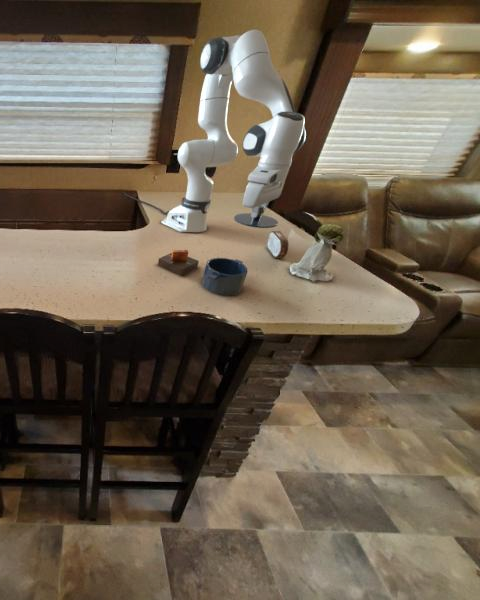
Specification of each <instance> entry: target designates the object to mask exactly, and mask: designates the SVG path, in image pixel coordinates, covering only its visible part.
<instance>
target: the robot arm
mask: <svg viewBox="0 0 480 600" xmlns="http://www.w3.org/2000/svg"><path fill="white" fill-rule="evenodd" d="M269 47H270V46H269V45H268V42H267V39H266V37H265V35H264V33H263V32H262V31H261V30H259V29H250V30H248V31H245V32H244V33H243V34H242V35H238V34H237V35H232V36H223V37H222V36H216V37H212V38H211V39H209V40H208V41H207V42H205V44H204V46H203V48H202V50H201V53H200V59H199V66H200V70H201V72H202V73H204V74H205V77H204V79H203V84H202V88H201V92H200V98H199V105H198V106H199V107H198V115H197V124H198V126H199V127H200V128H201V129H202V130H203V131H205V133H206V134H207V138H206V139H203V138H202V139H192V140H188V141H185V142H183V143H182V144H181V145H180V146H179V148H178V151H177V161H178V163H179V165H180V166H181V167H182V168H183V169H184V171H185V173H186V177H187V187H186V193H185V196H184V197H182V198H180V200H179V202H180V204H179V205H177V206H176V207H174V208H171V209H169V210H168V211H167V212H164V211H163V210H162V209H161V208H159V207H157V206H155V205H153V204H151V203H148V202H145V201H143V200H141V199H138V198H136V197H133V196H132V195H129V194H128V193H127V192H125V193H124V192H122V194H123V195H124V196H126V197H128V198H131V199H132V200H135V201H138V202H140V203H142V204H144V205H147V206H150V207H152V208H154V209H156V210H158V211H159V212H160V213H162V214H163V215H166V217H165V218H163V219H162V220H161V224H163V225H165V226H166V227H168V228H171V229H173V230H175V231H177V232H180V233H202V232H205V231H207V229H208V227H207V224H208V223H207V221H208V212H209V210H210V207H211V201H212V199H211V198H212V193H213V190H214V189H213V188H214V180H213V179H212V177H210V176H209V175H207V174H206V169H207V168H220V167H224V166H228V165H231V164H232V163H233V162H234V161H235V160H236V158H237V155H238V153H239V152H238V151H239V148H238V143H237V142H236V141H235V140H234V139H233V138H232V136H231V134H230V132H229V129H228V112H229V111H228V110H229V101H230V96H231V86H232V83H233V85H234V89H235V91H236V92H237V94H238V95H239V96H240V97H242V98H244V99H247V100H251V101H255V102H257V103H260V104H262V105H264V106H265V107H266V108H268V109H269V111H270V113H271V116H272V118H270V119H269V120H267V121H264V122H262V123H257V124H254V125H253V126H251V127H250V128H249V129H248V130H247V131H246V133H245V135H244V137H243V140H242V146H241V147H242V151H243V153H244V154H245V155H246V156H247V157H251V158H259V161H258V163H257V166H256V167H255V168H254V169H253V170H251V172H250V173H249V174H248V175H247V182H248V183H247V185H246V187H245V190H244V195H243V199H242V206H243V207H245V208H249V209H251V213H252V214H251V217H254V218H255V217H258V215H259V208H260V207H261V206H263V207H264V209H263V212H262V215H264V214H265V210H266V209H267V207H268V206H269V203H270V202H272V201H274V200H276V199H278V198H280V196H281V195H282V191H283V189H284V185H285V182H286V179H287V176H288V174H289V172H290V171H289V170H290V168H291V166H292V162H293V156H294V155H295V154H296V153H297V152H298V151H299V150H300V149H301V148H302V147H303V145H304V143H305V141H306V136H307V133H306V128H305V116H304V115H303V114H301V113H299V112H297V111H296V109H295V105H294V103H293V99H292V96H291V94H290V91H289V88H288V86H287V84H286V82H285V81H284V79H283V78H282V77H280V75H279V74H278V71H277V70H276V69H275V66H274V64H273V62H272V58H271V52H270V48H269Z"/></svg>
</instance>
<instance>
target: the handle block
mask: <svg viewBox="0 0 480 600" xmlns="http://www.w3.org/2000/svg"><path fill="white" fill-rule="evenodd" d="M171 256H172V252H170V253H167V254H166V255H164V256H161V257H159V258H158V261H157V266H158V267H160V268H162V269H165V270H167V271H169V272H172V273H174V274H176V275H178V276H180V277H183V276H185V275H187V274H189V273H191V272H192V271H194V270H196V269H198V267H199V262H200V260H197V259H196V258H193V257H190V256H188V257H187V261H177V260H171Z"/></svg>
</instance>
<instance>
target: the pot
mask: <svg viewBox="0 0 480 600" xmlns="http://www.w3.org/2000/svg"><path fill="white" fill-rule="evenodd" d="M248 271H249V268H248V267H247V265H246V264H244V261H242V260H240V259H237V258H235V259H233V258H227V257H214V258H213V257H212V258H210V259H208V260H207V261H206V264H205V267H204V271H203V275H202V278H201V285H202V287H203V288H204V289H205V290H207V291H208V292H211V293H212V294H216V295H218V296H219V295H220V296H235V295H238V294H239V293H240V292H241V291H242V289H243V286H244V284H245V280H246V278H247V276H248Z"/></svg>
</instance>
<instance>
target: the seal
mask: <svg viewBox="0 0 480 600" xmlns="http://www.w3.org/2000/svg"><path fill="white" fill-rule="evenodd" d="M171 253H172V256H171V260H177V261H187V257H189V251H188V249H172V251H171Z"/></svg>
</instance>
